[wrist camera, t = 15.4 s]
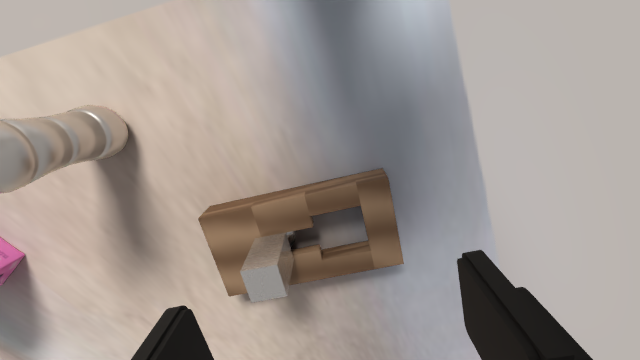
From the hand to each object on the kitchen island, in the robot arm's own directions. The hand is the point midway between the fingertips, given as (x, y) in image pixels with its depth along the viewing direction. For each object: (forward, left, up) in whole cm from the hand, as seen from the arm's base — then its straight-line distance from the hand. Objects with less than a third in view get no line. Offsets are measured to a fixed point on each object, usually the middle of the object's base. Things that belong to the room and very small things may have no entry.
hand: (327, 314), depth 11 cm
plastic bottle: (-8, -27, -31) cm, 42 cm away
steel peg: (+11, -10, -30) cm, 34 cm away
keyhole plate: (+11, -6, -30) cm, 33 cm away
